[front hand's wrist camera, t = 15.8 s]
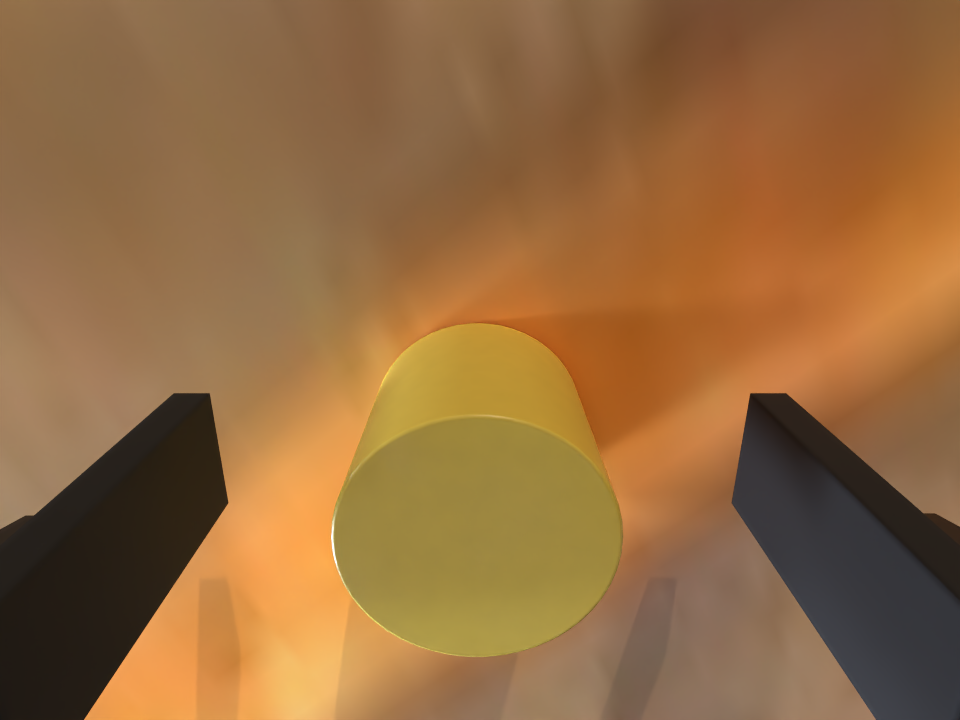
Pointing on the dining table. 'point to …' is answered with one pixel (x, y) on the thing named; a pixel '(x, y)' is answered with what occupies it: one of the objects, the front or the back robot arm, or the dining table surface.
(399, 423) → the cylinder
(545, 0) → the dining table surface
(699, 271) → the dining table surface
